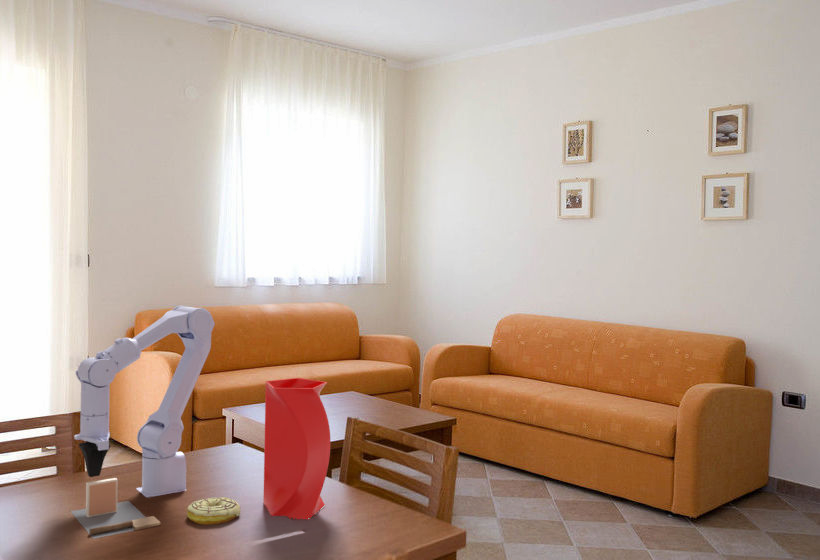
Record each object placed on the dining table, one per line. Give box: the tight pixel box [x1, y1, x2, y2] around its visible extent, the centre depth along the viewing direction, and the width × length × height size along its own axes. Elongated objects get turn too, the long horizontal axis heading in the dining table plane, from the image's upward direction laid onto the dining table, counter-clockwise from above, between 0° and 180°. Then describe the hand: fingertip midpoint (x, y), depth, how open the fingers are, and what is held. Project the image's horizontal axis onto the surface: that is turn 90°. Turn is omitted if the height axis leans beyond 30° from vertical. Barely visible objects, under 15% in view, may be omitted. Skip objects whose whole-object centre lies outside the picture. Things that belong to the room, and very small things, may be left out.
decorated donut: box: [186, 496, 241, 526], centre depth 156 cm, size 10×11×4 cm
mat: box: [70, 500, 155, 540], centre depth 153 cm, size 12×18×1 cm, turn 38°
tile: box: [85, 477, 119, 517], centre depth 155 cm, size 6×2×7 cm, turn 128°
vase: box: [262, 377, 331, 520], centre depth 162 cm, size 15×14×28 cm
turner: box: [88, 515, 161, 536], centre depth 148 cm, size 13×4×1 cm, turn 128°
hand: (93, 475), depth 160 cm, fingers closed
